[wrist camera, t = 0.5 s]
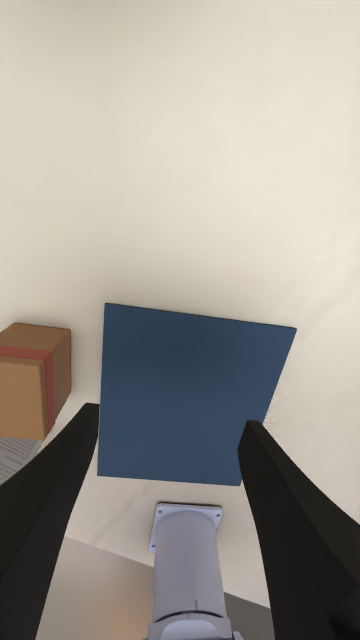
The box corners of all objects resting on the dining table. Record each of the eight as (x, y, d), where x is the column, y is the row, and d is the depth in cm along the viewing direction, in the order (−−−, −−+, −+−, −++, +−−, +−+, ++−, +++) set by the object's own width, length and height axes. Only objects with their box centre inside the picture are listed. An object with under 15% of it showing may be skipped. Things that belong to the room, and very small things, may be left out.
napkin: (238, 483, 30) (239, 486, 29) (97, 473, 28) (97, 475, 28) (295, 327, 22) (297, 329, 22) (105, 302, 21) (104, 303, 20)
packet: (71, 392, 24) (45, 441, 19) (20, 387, 24) (-22, 436, 18) (71, 328, 21) (40, 366, 16) (12, 321, 21) (-37, 357, 16)
